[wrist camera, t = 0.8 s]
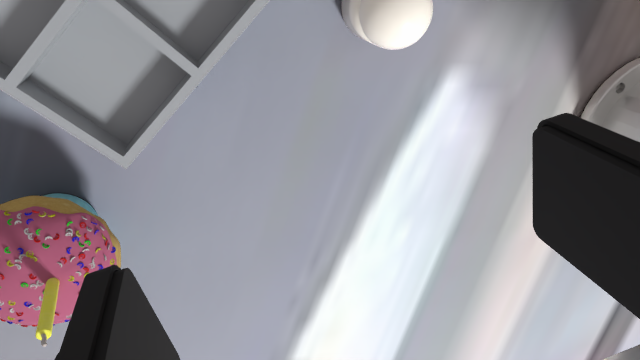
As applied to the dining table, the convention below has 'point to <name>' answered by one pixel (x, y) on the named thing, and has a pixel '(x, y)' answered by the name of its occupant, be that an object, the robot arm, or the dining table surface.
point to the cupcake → (49, 258)
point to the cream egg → (388, 21)
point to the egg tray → (114, 62)
